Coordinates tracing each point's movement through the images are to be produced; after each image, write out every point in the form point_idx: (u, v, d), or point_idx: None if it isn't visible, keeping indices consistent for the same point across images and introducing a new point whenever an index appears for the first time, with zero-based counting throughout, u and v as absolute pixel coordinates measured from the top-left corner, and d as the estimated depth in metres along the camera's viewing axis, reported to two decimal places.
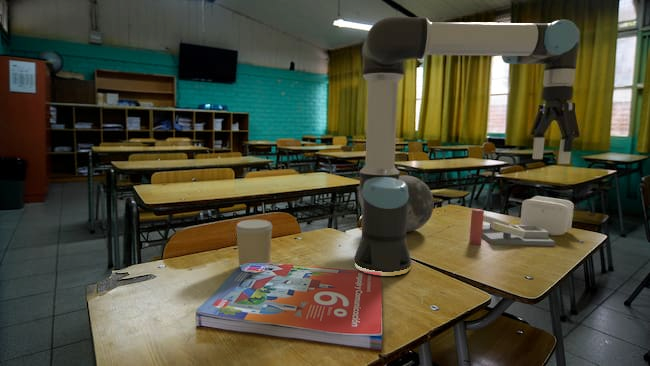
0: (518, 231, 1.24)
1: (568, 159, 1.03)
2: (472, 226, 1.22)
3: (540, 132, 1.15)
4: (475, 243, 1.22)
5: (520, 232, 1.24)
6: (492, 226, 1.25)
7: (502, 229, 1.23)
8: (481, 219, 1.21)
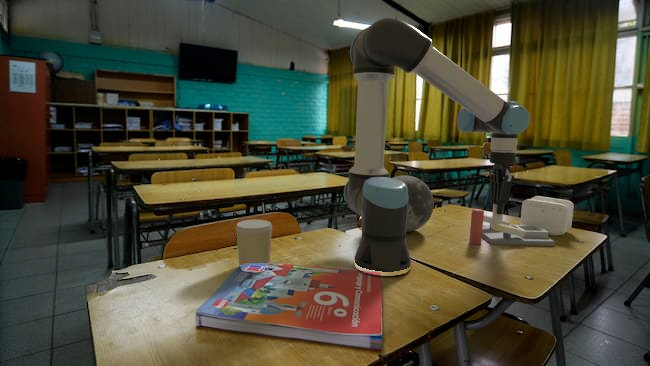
0: (518, 231, 1.24)
1: (501, 220, 1.24)
2: (472, 226, 1.22)
3: None
4: (475, 243, 1.22)
5: (520, 232, 1.24)
6: (492, 226, 1.25)
7: (502, 229, 1.23)
8: (481, 219, 1.21)
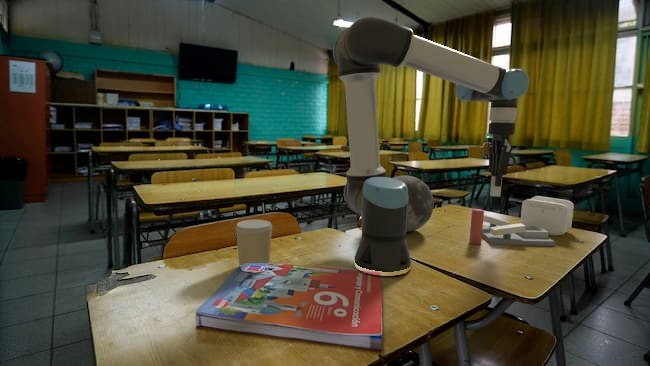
0: (518, 227, 1.23)
1: (499, 192, 1.22)
2: (472, 226, 1.22)
3: None
4: (475, 243, 1.22)
5: (520, 228, 1.23)
6: (492, 232, 1.25)
7: (502, 232, 1.23)
8: (481, 219, 1.21)
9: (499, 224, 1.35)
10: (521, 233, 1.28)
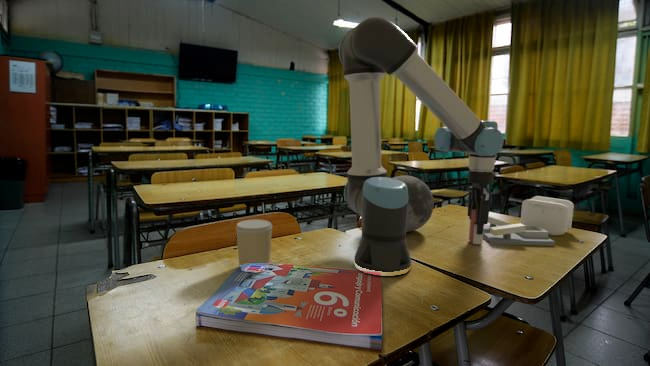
0: (518, 227, 1.23)
1: (481, 240, 1.21)
2: (472, 226, 1.22)
3: None
4: None
5: (520, 227, 1.23)
6: (492, 232, 1.25)
7: (502, 232, 1.23)
8: None
9: (499, 224, 1.35)
10: (521, 233, 1.28)
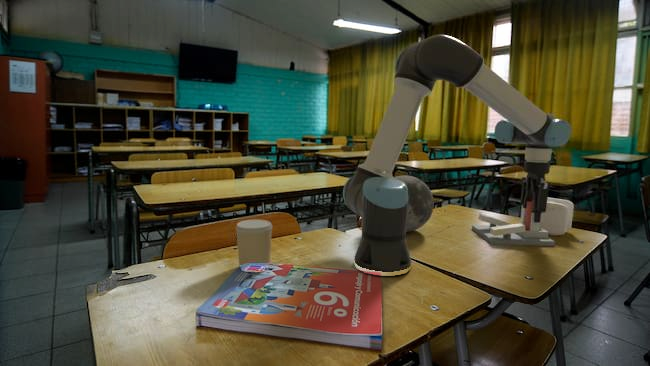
0: (518, 227, 1.23)
1: (538, 228, 1.27)
2: (527, 217, 1.29)
3: None
4: None
5: (520, 227, 1.23)
6: (492, 232, 1.25)
7: (502, 232, 1.23)
8: None
9: (499, 224, 1.35)
10: (521, 233, 1.28)
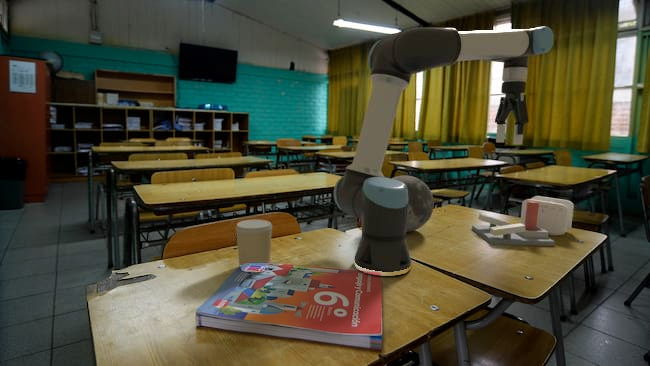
0: (518, 227, 1.23)
1: (521, 141, 1.27)
2: (527, 217, 1.29)
3: (502, 120, 1.39)
4: None
5: (520, 227, 1.23)
6: (492, 232, 1.25)
7: (502, 232, 1.23)
8: (537, 210, 1.27)
9: (499, 224, 1.35)
10: (521, 233, 1.28)
